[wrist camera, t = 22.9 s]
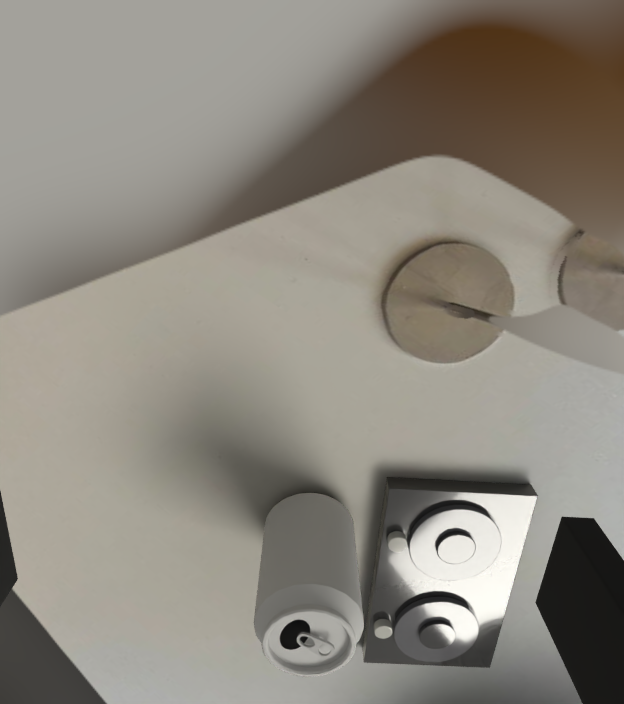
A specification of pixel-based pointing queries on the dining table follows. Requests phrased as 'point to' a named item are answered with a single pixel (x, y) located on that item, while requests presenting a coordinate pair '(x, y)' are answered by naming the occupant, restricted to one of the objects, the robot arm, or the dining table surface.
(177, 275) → the dining table surface
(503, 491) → the hob
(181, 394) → the dining table surface
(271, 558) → the can
